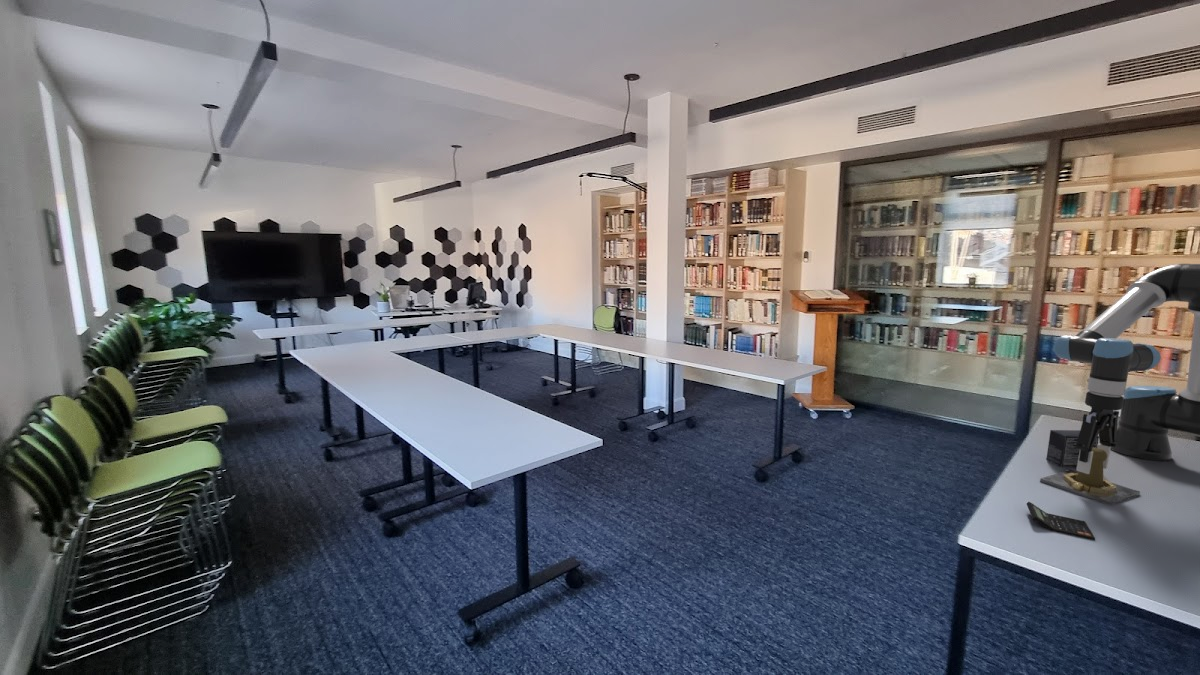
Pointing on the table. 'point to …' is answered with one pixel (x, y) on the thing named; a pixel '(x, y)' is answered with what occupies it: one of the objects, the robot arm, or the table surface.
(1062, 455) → the small box
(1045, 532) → the table surface
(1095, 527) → the table surface
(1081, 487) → the socket
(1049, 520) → the calculator
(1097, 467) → the cork
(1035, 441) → the table surface
